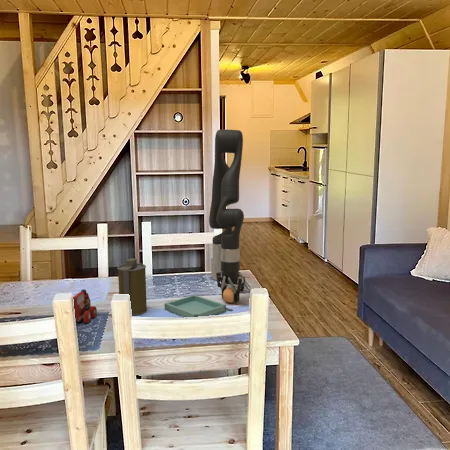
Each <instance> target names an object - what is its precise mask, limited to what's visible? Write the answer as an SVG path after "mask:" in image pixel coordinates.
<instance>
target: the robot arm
mask: <svg viewBox="0 0 450 450" xmlns="http://www.w3.org/2000/svg"><path fill="white" fill-rule="evenodd" d="M214 137H215V138H214V165H213V176H212V186H211V187H212V188H211V202H210V209H209V216H208V222H209V223H208V224H209V227H210V228H211V229H214V230H223V229H224V230H223V231H222V232H221V233H219V234H216V235H214V236H213V237H212V258H211V261H210V263H211V265H210V268H211V272H210V275H211V278H212V279H213V280H214V281H216V284H217V285H216V286H217V288H219V289H220V291H221V299H223V300H224V298H223V292H224V290H225V289H227V288H228V287H229V286H230V287H231V288H232V289H233V291H234V302H233V303H239V301H240V294H241V293H243V292H245V291H244V290H245V284H246V283H245V282H246V279H245V278H246V277H241V276H240V274H239V272H240V271H241V270H240V269H241V266H240V265H241V264H240V263H241V253H240V252H241V251H240V233H241V231H242V226H243V223H244V220H245V214H244V211H243V210H242V209H241V208H227V207H228V206H230V205H234V204H237V203H239V201H240V176H241V174H240V173H241V167H242V158H243V146H244V136H243V132H242V131H241V130H239V129H218V130H217V131H216V133H215V136H214ZM223 153H224V154H234V155H233V160H232V161H231V162H232V163H231V164H230V166H229V165H228V164H227V162H226V160H225V157H224V156H223V155H224V154H223ZM233 227H234V228H233Z"/></svg>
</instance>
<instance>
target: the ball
mask: <svg viewBox="0 0 450 450" xmlns="http://www.w3.org/2000/svg"><path fill="white" fill-rule="evenodd" d="M223 298H224V299H223V300H224V302H226V303H231V304H232V303H235V302H234V291H233V289H232V288H231V286H230V287H229V286H228V287H227V288H226V289H225V290H224V292H223Z"/></svg>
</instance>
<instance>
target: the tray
mask: <svg viewBox="0 0 450 450" xmlns="http://www.w3.org/2000/svg"><path fill="white" fill-rule="evenodd" d="M226 308H227V305H226V304H224V303H221V302H219V301H214V300H211V299H208V298H205V297H203V296H199V295H196V294H192V295H189V296H186V297H182V298H178V299H174V300H172V301H168V302H165V303H164V310H165V311H167V312H170V313H172V314H174V313H175V314H174V315H176V316H179V317H182V316H183V317H182V318H184V317H198V316H209V315H215V316H217V314H218V315H220V314H223V313H226V312H227V310H226ZM219 313H220V314H219Z"/></svg>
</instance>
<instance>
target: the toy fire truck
mask: <svg viewBox="0 0 450 450" xmlns="http://www.w3.org/2000/svg"><path fill="white" fill-rule="evenodd" d="M73 299H74V306H73V310H74V309H75V318H76V321H77V322H79V321H82V320H83V322H84V324H88V323H90V322H91V320H92V318H93V319H94V318H95V317H96V316H97V311H98V310H97V306H94V305H92V303H91V299H90V295H89V292H87V290H86V289H81V290H80V291H79V292H78V293H77V294H75V295H74V296H73V297H72V300H73ZM76 321H75V322H76Z"/></svg>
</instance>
